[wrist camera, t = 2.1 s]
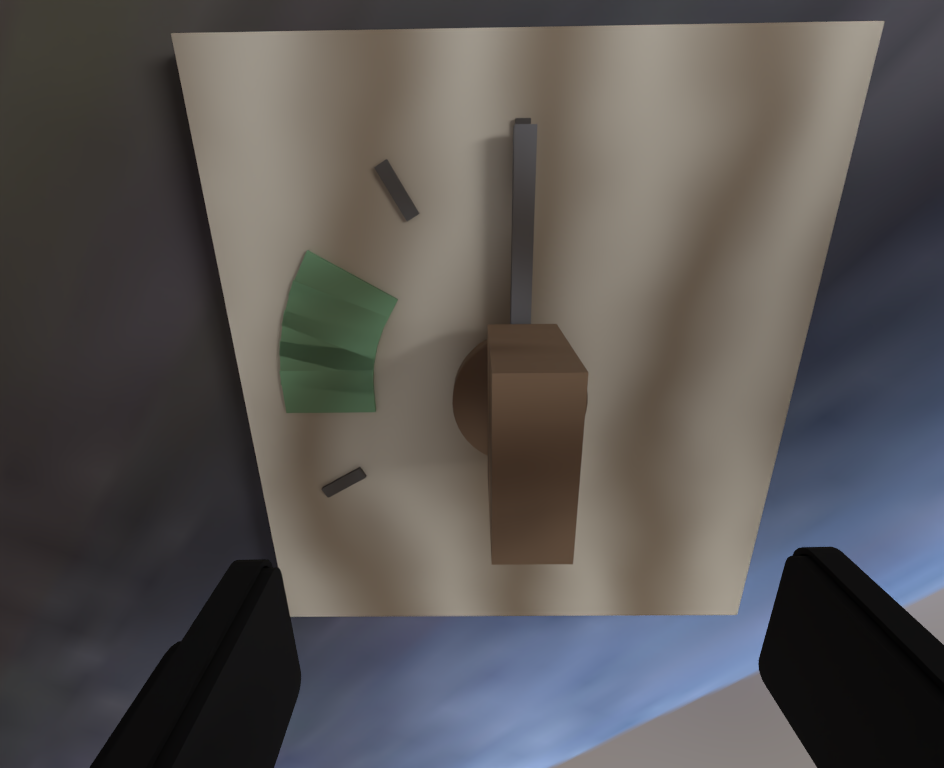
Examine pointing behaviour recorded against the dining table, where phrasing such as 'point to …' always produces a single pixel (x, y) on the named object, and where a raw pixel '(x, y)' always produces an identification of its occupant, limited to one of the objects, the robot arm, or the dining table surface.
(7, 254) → the dining table surface
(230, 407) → the dining table surface
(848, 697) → the robot arm
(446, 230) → the dial plate
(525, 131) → the dial pointer knob
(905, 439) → the dining table surface
